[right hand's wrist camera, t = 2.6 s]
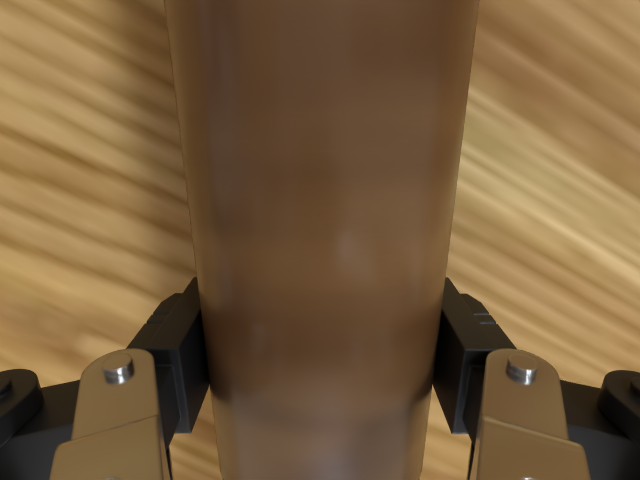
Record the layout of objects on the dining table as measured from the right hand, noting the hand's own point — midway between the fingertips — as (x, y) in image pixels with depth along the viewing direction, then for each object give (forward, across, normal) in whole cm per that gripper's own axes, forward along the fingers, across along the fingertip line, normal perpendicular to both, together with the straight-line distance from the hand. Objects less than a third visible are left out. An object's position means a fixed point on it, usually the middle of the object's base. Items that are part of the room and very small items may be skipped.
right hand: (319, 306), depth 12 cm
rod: (+1, 0, -8) cm, 8 cm away
